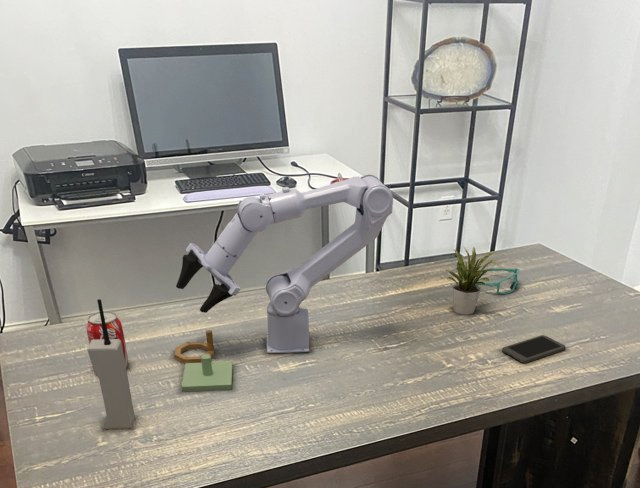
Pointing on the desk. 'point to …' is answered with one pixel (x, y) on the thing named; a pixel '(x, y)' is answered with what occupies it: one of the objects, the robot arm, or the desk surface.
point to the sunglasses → (504, 279)
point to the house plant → (468, 282)
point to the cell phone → (533, 348)
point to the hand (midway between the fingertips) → (191, 299)
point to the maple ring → (195, 345)
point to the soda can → (112, 326)
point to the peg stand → (207, 375)
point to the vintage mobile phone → (112, 378)
